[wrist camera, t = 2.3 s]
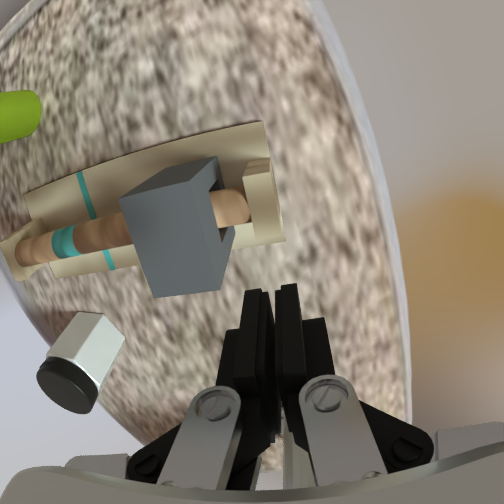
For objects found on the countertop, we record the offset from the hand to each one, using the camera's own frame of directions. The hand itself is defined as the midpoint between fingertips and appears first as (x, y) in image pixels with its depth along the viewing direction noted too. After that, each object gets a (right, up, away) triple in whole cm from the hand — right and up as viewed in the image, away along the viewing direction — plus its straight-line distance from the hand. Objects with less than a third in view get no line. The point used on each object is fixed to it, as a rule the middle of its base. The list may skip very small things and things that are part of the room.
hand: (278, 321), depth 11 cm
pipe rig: (-13, +7, +21) cm, 26 cm away
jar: (-23, -9, +30) cm, 39 cm away
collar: (-6, +7, +18) cm, 20 cm away
